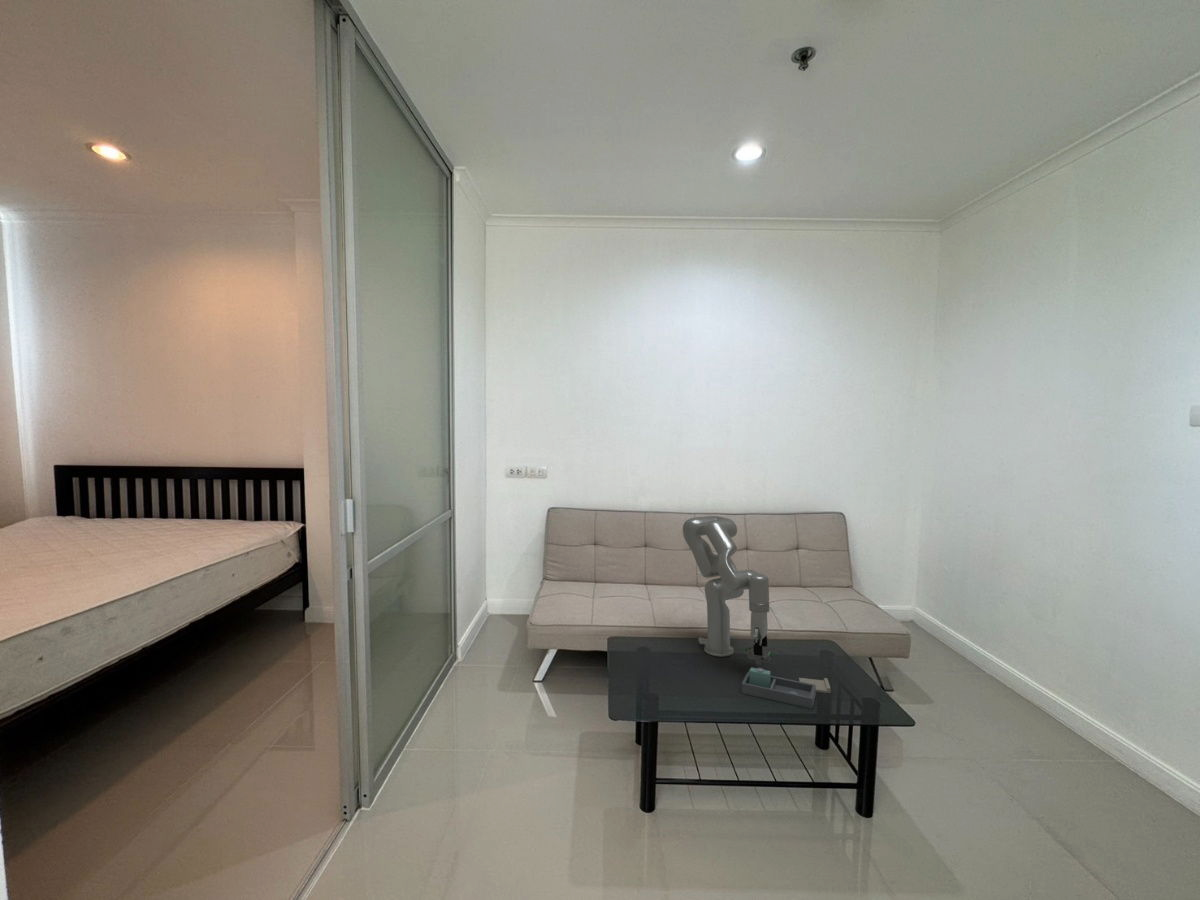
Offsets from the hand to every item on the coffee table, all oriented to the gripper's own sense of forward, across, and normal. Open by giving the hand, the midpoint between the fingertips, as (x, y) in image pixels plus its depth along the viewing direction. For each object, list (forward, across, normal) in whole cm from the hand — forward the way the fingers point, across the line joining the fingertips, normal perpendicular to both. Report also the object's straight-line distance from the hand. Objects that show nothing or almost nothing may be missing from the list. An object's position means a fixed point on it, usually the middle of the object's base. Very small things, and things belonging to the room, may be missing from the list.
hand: (760, 650), depth 197 cm
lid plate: (+11, -1, +19) cm, 22 cm away
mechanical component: (+10, -1, -1) cm, 10 cm away
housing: (+11, +11, +8) cm, 17 cm away
